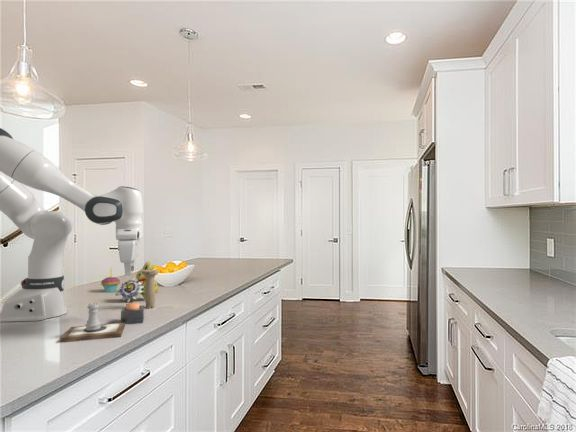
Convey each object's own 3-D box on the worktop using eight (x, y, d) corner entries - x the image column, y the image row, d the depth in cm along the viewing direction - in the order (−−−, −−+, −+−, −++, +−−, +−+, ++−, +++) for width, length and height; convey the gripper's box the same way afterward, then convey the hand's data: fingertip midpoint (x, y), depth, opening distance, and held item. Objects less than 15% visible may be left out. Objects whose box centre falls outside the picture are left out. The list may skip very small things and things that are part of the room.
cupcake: (102, 290, 190) (103, 266, 190) (121, 289, 193) (121, 265, 193) (99, 293, 182) (99, 268, 182) (118, 292, 185) (118, 268, 185)
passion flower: (128, 314, 163) (110, 294, 159) (133, 304, 173) (116, 284, 170) (150, 299, 163) (133, 278, 160) (154, 290, 174) (137, 270, 171)
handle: (155, 309, 150) (155, 271, 150) (139, 308, 151) (139, 271, 151) (160, 306, 155) (160, 269, 155) (145, 305, 155) (145, 269, 156)
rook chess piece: (103, 327, 120) (103, 301, 120) (97, 331, 115) (97, 305, 115) (89, 327, 120) (89, 302, 120) (82, 331, 115) (82, 305, 115)
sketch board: (61, 342, 110) (61, 337, 110) (70, 330, 121) (70, 326, 121) (120, 336, 114) (120, 331, 114) (124, 326, 126) (124, 321, 126)
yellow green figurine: (138, 291, 188) (138, 261, 188) (160, 291, 187) (160, 261, 187) (132, 293, 181) (132, 262, 181) (154, 294, 180) (154, 262, 181)
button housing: (120, 324, 128) (120, 311, 128) (123, 319, 134) (123, 306, 134) (142, 322, 130) (142, 309, 130) (143, 317, 137) (143, 305, 137)
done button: (125, 314, 129) (125, 305, 130) (126, 311, 134) (126, 303, 134) (139, 313, 131) (139, 305, 131) (139, 310, 135) (139, 302, 135)
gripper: (123, 232, 140) (123, 269, 140) (115, 234, 120) (115, 277, 120) (141, 232, 142) (141, 268, 142) (136, 234, 122) (136, 276, 122)
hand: (129, 272), depth 131 cm, fingers open, 8 cm apart
